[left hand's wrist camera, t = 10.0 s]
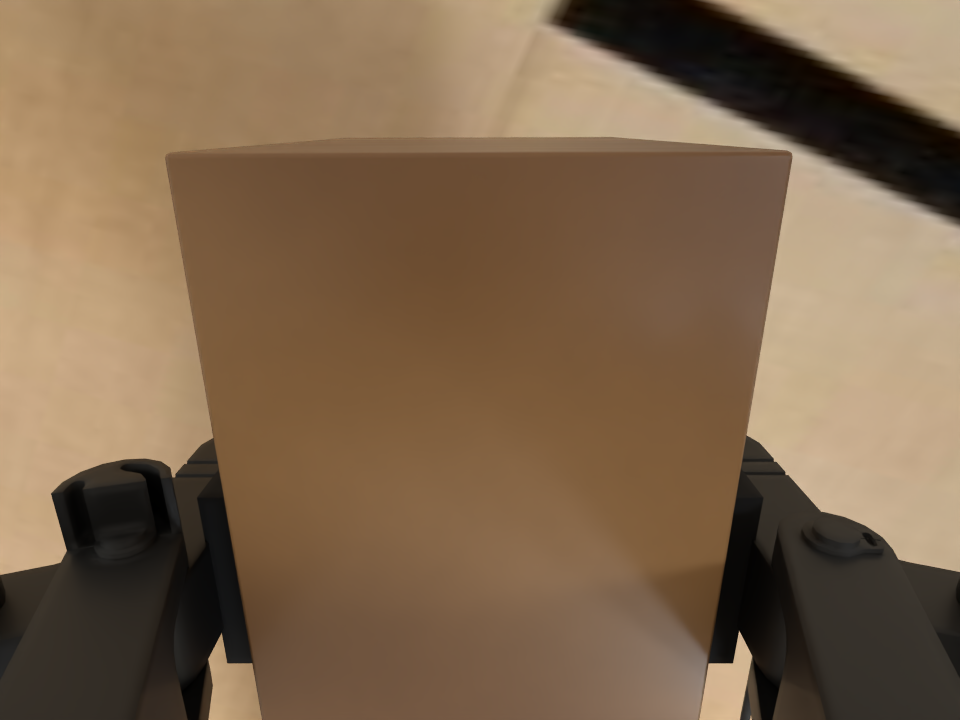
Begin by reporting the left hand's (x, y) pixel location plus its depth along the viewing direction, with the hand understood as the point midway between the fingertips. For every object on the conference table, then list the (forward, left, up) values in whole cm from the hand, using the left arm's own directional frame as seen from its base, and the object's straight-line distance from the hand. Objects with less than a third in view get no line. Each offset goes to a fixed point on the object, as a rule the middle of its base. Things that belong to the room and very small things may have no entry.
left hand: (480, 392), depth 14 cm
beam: (+16, +28, -1) cm, 33 cm away
